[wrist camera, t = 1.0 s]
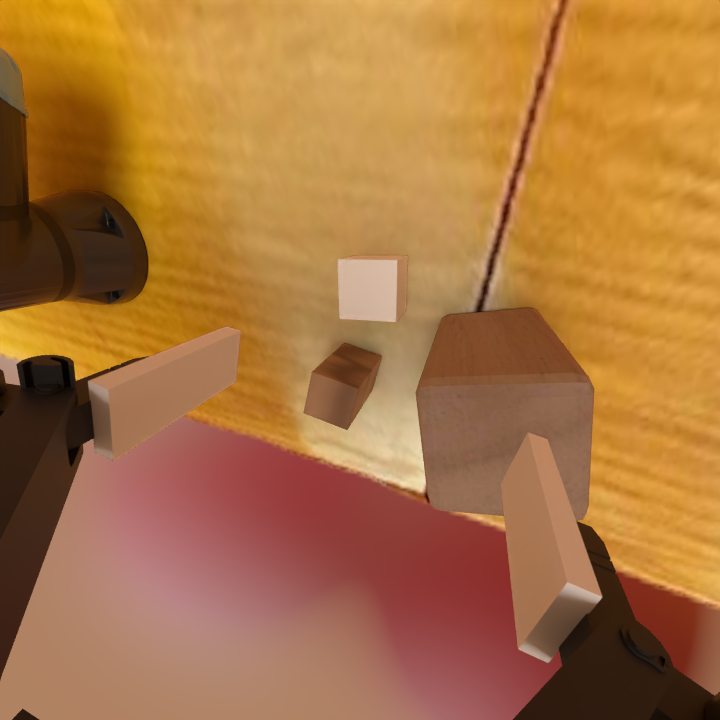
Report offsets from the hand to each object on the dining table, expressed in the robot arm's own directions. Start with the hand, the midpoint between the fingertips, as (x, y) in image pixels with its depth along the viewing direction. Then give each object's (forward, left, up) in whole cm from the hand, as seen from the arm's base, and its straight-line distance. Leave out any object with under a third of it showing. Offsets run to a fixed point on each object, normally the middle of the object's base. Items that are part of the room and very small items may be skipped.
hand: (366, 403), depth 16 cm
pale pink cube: (-6, 0, -27) cm, 27 cm away
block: (+8, -4, -27) cm, 28 cm away
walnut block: (-6, -11, -27) cm, 29 cm away
